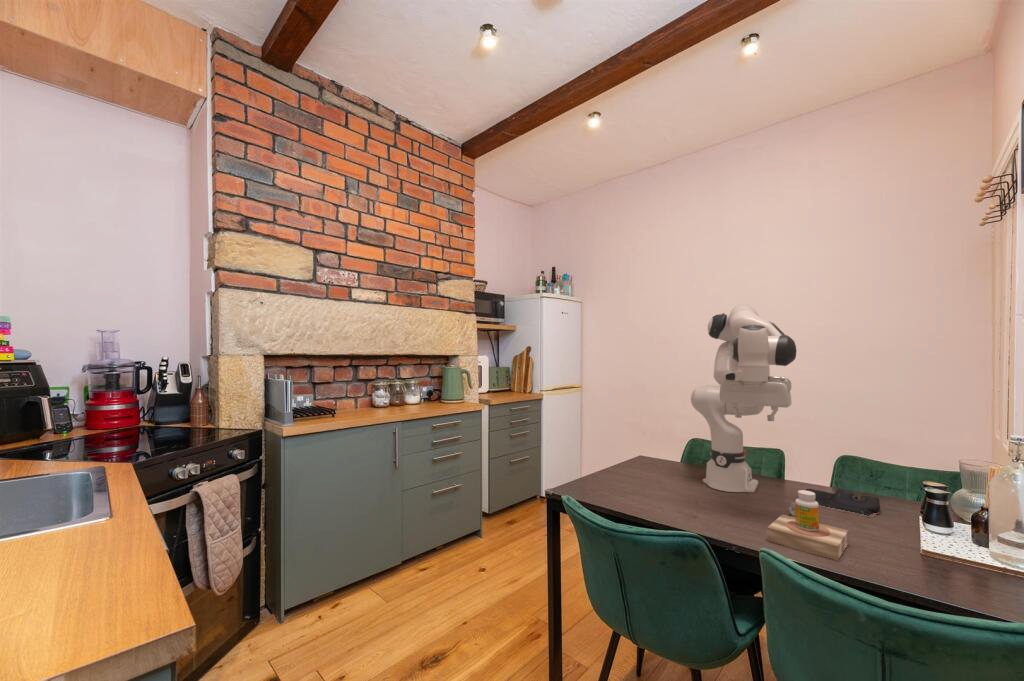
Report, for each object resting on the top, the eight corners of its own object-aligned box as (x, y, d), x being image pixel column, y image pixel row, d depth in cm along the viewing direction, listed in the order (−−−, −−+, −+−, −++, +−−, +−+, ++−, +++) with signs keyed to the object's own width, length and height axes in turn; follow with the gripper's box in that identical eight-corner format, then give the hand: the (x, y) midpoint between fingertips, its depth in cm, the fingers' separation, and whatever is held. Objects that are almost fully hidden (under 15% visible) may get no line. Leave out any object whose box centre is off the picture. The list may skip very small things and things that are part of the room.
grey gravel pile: (817, 528, 131) (817, 514, 131) (788, 522, 135) (788, 509, 135) (819, 517, 139) (819, 504, 139) (791, 511, 144) (791, 499, 144)
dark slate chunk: (806, 493, 163) (806, 480, 163) (883, 508, 147) (882, 494, 147) (795, 503, 152) (795, 489, 153) (876, 521, 137) (876, 505, 137)
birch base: (782, 526, 131) (782, 513, 131) (848, 543, 119) (848, 529, 120) (767, 540, 121) (767, 526, 121) (838, 561, 110) (837, 545, 110)
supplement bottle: (797, 529, 119) (796, 494, 119) (794, 522, 124) (793, 488, 124) (821, 533, 117) (820, 496, 117) (816, 525, 122) (816, 490, 122)
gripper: (794, 376, 134) (794, 421, 133) (724, 374, 149) (725, 414, 148) (788, 377, 129) (788, 424, 129) (717, 374, 144) (717, 416, 144)
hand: (754, 419), depth 139 cm, fingers open, 8 cm apart
